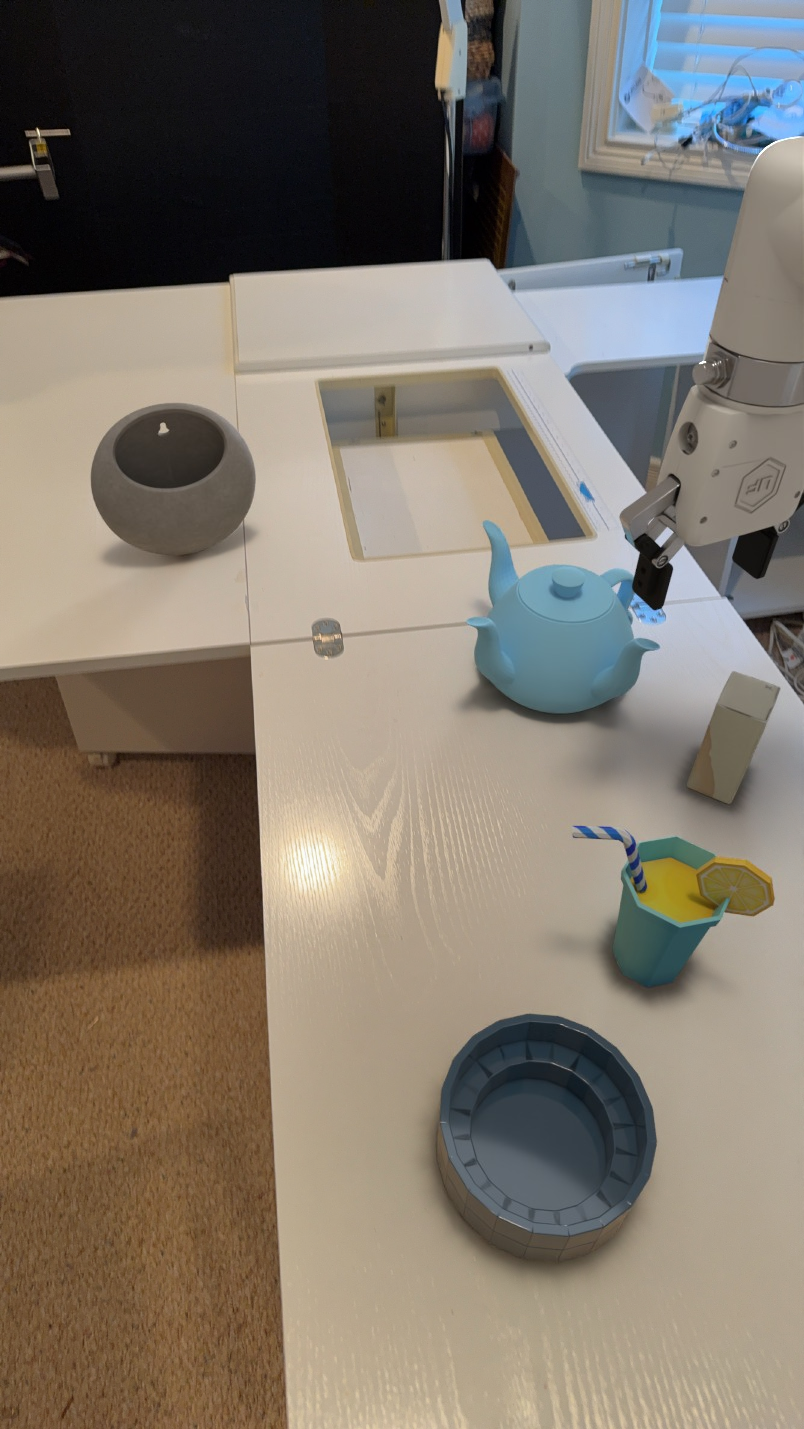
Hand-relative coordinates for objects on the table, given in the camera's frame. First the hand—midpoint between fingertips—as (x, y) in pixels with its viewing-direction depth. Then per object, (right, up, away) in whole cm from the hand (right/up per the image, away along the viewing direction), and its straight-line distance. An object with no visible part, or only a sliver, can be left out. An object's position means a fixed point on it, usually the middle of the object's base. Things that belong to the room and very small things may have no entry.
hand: (697, 584), depth 69 cm
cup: (-5, -29, 0) cm, 30 cm away
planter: (-49, +10, +39) cm, 63 cm away
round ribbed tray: (-14, -39, -10) cm, 43 cm away
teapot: (-8, -6, +24) cm, 26 cm away
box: (+6, -16, +13) cm, 22 cm away
